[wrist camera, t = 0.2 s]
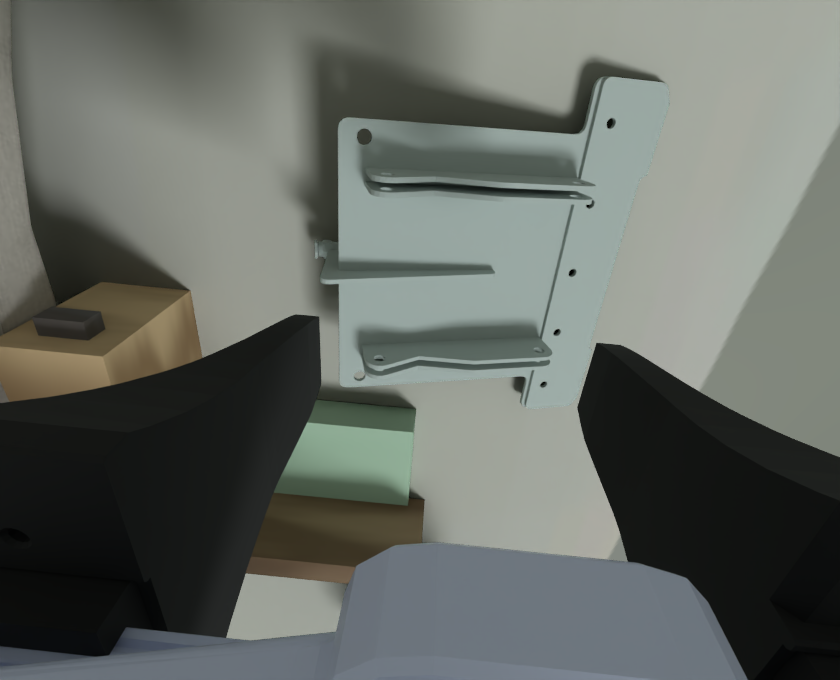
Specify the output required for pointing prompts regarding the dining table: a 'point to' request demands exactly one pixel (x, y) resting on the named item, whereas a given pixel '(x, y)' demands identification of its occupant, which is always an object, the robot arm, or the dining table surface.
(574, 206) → the metal bracket
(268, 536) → the wall board
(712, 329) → the dining table surface
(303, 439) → the cleat ledge
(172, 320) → the cabinet block
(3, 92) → the white letter a
